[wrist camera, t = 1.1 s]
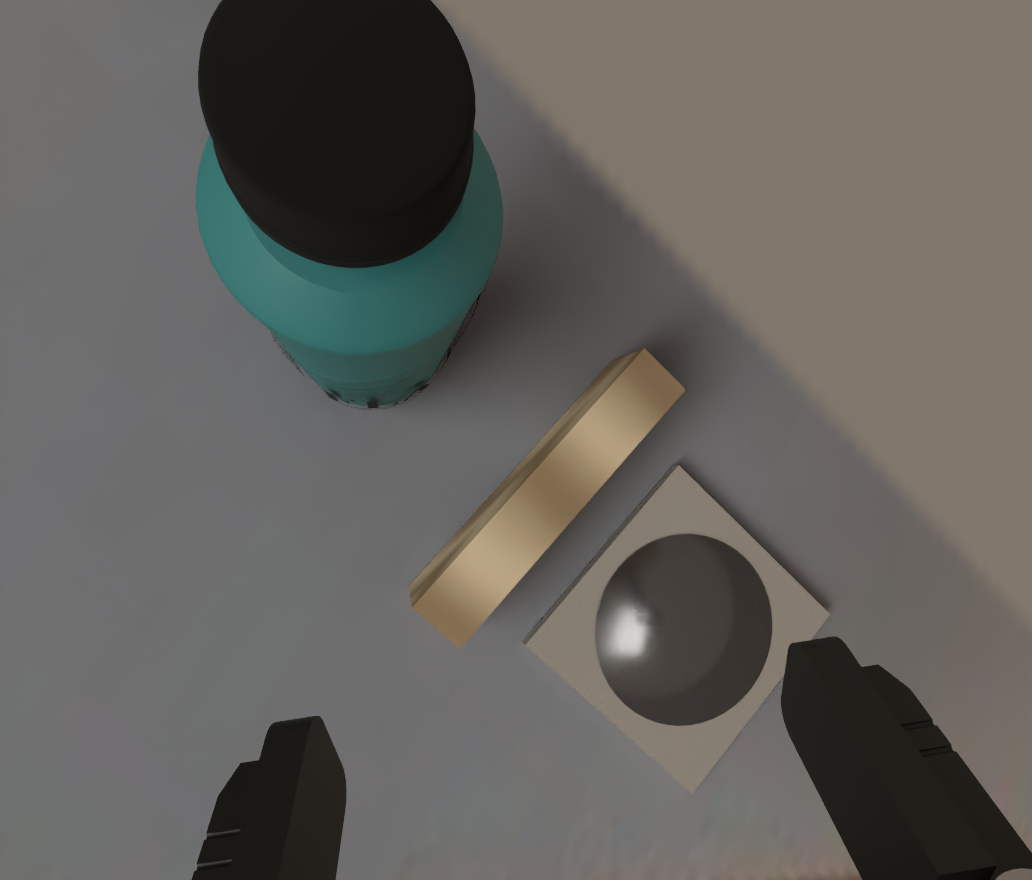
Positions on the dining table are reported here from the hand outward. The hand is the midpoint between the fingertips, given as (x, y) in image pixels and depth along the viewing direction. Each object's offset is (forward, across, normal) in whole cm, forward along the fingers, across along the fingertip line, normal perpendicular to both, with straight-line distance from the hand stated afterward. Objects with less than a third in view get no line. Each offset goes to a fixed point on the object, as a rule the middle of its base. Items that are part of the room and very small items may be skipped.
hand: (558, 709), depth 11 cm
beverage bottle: (+20, +5, 0) cm, 21 cm away
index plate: (+14, -7, +15) cm, 22 cm away
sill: (+17, -1, +8) cm, 19 cm away
